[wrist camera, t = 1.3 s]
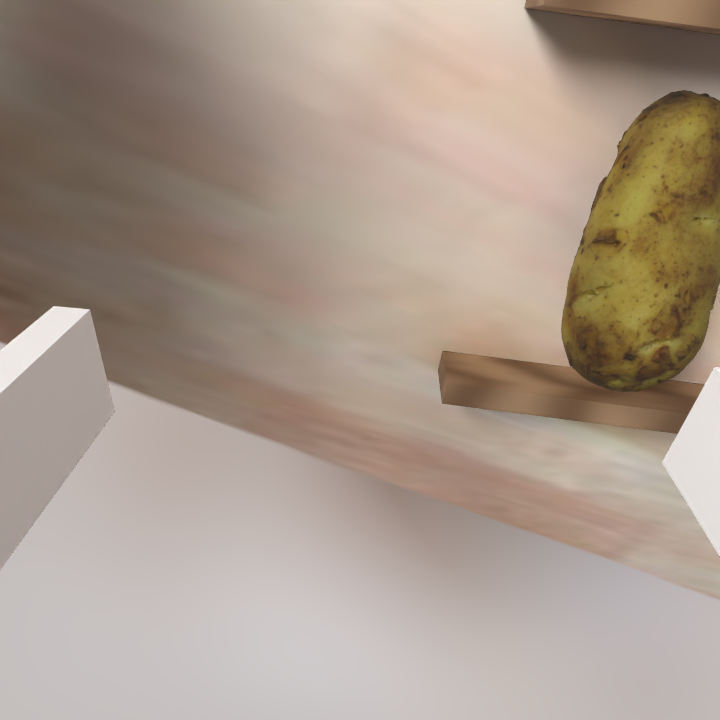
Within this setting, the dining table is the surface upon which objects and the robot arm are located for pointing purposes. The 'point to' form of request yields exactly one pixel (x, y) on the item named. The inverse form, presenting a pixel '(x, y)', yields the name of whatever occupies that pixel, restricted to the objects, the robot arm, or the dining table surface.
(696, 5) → the channel
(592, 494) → the dining table surface
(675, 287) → the potato
